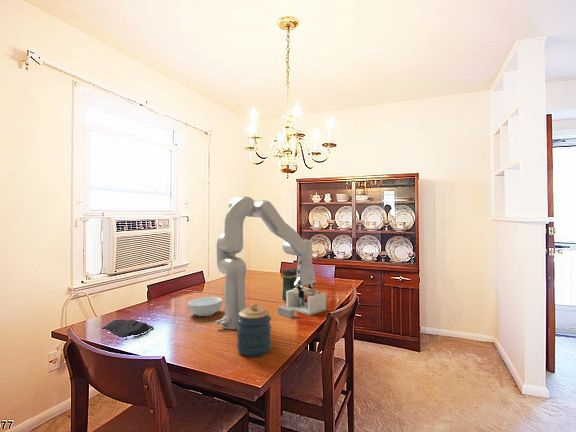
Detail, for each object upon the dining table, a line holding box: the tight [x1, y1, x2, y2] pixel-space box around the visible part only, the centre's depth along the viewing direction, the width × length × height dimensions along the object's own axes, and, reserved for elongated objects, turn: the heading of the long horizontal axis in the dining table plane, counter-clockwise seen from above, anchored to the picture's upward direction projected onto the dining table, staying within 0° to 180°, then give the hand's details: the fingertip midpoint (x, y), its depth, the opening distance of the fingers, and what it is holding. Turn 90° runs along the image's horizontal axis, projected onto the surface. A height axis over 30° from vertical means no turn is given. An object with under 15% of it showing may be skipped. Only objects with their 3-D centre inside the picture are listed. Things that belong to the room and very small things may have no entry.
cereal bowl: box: [187, 296, 223, 317], centre depth 161 cm, size 17×17×7 cm
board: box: [293, 286, 320, 298], centre depth 167 cm, size 6×13×2 cm, turn 41°
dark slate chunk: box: [101, 319, 154, 338], centre depth 140 cm, size 15×22×5 cm
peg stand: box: [285, 290, 327, 316], centre depth 167 cm, size 12×18×9 cm, turn 41°
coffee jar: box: [281, 267, 297, 302], centre depth 186 cm, size 10×8×19 cm
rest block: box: [277, 305, 295, 319], centre depth 158 cm, size 3×9×4 cm, turn 41°
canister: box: [236, 302, 272, 358], centre depth 119 cm, size 13×13×18 cm
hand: (305, 296), depth 167 cm, fingers closed on board, 6 cm apart
